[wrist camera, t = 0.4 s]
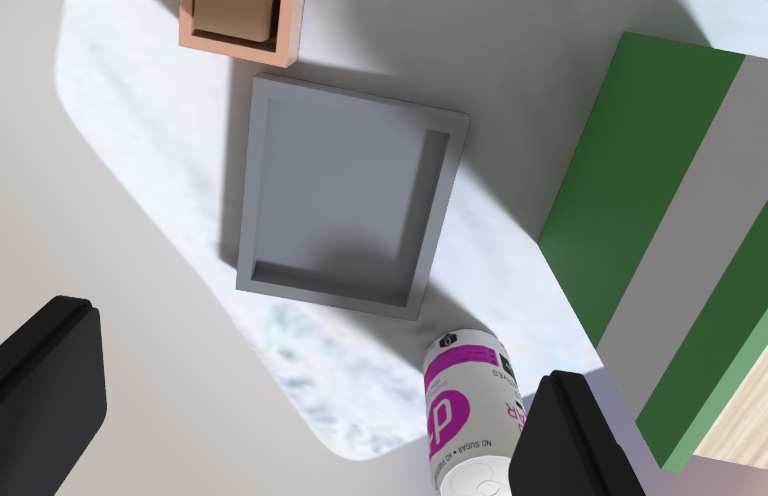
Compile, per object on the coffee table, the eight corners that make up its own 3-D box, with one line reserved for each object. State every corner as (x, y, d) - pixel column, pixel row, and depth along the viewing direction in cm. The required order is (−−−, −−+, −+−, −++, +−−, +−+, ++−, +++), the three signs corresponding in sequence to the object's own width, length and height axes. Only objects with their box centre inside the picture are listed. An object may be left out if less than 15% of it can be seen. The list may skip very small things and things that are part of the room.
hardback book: (617, 262, 47) (806, 498, 25) (537, 244, 46) (661, 469, 24) (718, 56, 39) (1114, 140, 17) (623, 31, 38) (914, 86, 17)
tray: (261, 71, 40) (253, 76, 38) (466, 113, 41) (470, 121, 39) (243, 275, 48) (235, 289, 46) (415, 306, 49) (416, 321, 47)
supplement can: (406, 368, 52) (409, 500, 39) (457, 309, 49) (479, 431, 36) (471, 404, 54) (496, 542, 41) (524, 350, 51) (570, 480, 38)
